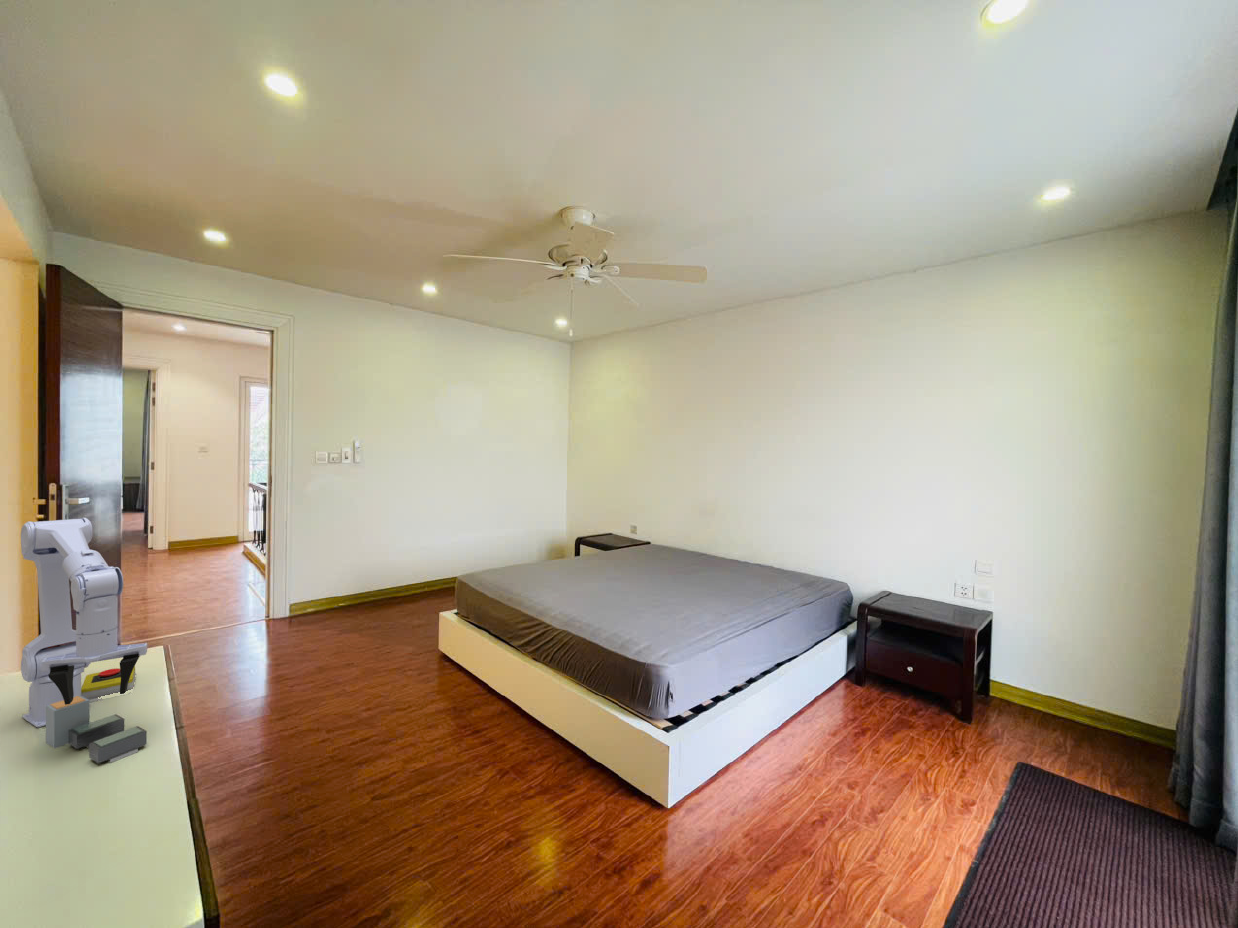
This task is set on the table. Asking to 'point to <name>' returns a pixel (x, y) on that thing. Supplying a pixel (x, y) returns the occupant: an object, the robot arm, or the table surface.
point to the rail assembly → (108, 739)
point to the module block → (65, 719)
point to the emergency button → (104, 684)
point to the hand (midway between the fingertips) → (96, 697)
